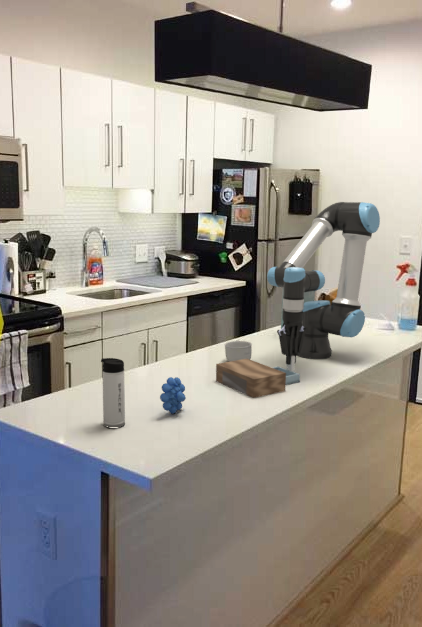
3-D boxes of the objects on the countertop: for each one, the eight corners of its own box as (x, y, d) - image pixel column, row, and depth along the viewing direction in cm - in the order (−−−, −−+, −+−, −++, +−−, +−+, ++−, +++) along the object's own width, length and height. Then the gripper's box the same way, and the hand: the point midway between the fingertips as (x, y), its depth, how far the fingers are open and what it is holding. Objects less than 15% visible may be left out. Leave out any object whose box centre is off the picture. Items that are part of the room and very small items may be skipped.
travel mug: (103, 421, 186) (101, 356, 182) (125, 420, 186) (124, 356, 182) (101, 428, 180) (99, 362, 176) (124, 428, 180) (123, 361, 176)
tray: (277, 373, 236) (278, 366, 236) (299, 382, 227) (299, 374, 226) (235, 382, 225) (236, 374, 224) (256, 391, 215) (256, 383, 215)
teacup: (249, 367, 245) (249, 347, 243) (222, 365, 247) (222, 345, 246) (254, 358, 258) (254, 339, 257) (228, 356, 261) (228, 337, 259)
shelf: (246, 375, 234) (246, 358, 233) (285, 390, 216) (285, 373, 215) (216, 381, 226) (216, 363, 225) (253, 398, 208) (254, 379, 207)
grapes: (172, 421, 186) (172, 383, 184) (155, 417, 190) (154, 379, 187) (195, 410, 195) (195, 374, 193) (177, 406, 199) (178, 370, 197)
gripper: (299, 306, 233) (296, 367, 238) (272, 310, 226) (270, 372, 231) (313, 310, 227) (310, 372, 232) (286, 313, 220) (283, 377, 225)
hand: (290, 372), depth 231 cm, fingers closed
